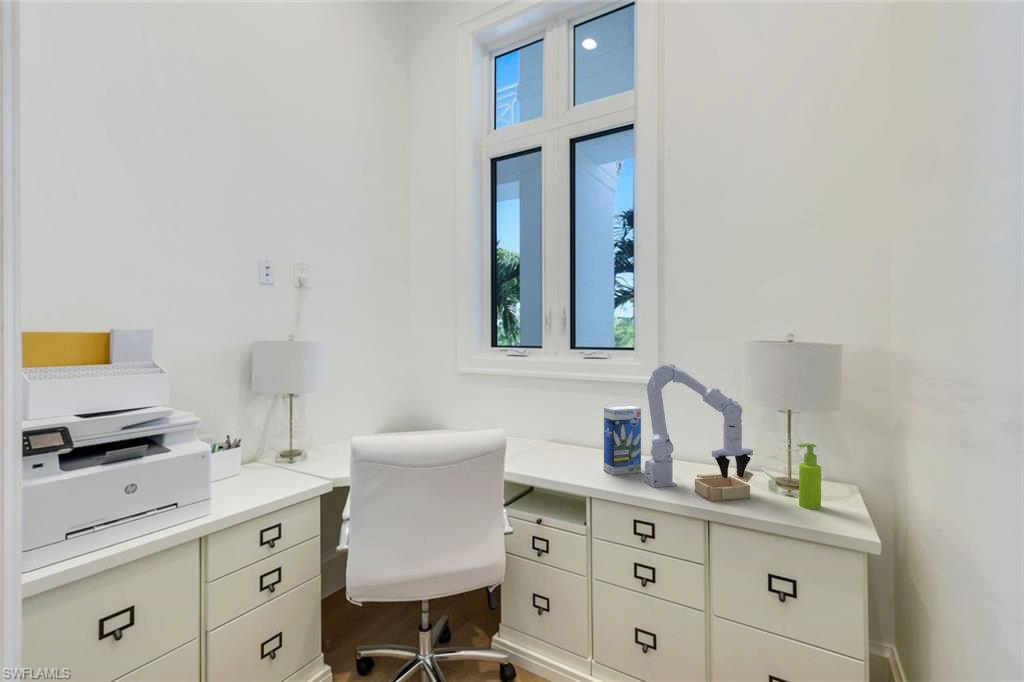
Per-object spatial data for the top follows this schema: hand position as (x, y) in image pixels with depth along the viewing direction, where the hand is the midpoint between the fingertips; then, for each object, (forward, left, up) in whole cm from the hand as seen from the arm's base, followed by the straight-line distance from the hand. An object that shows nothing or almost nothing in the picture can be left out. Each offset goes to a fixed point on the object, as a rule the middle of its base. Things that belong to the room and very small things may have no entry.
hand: (732, 477), depth 158 cm
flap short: (+3, 0, -1) cm, 3 cm away
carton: (-4, 0, -6) cm, 7 cm away
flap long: (-4, +5, -1) cm, 6 cm away
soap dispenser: (+17, -14, -6) cm, 23 cm away
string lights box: (-25, +33, -6) cm, 42 cm away
